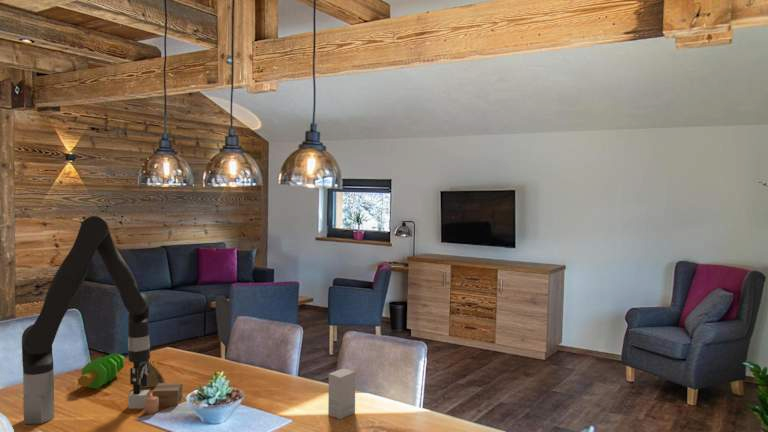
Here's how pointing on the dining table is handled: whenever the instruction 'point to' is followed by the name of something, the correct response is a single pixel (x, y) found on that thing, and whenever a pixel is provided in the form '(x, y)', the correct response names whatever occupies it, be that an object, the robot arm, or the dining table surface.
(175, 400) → the walnut block
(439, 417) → the dining table surface
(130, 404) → the grey block
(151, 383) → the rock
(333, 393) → the skincare box
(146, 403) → the pinkish tan cube
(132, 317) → the robot arm
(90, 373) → the decorative tree
